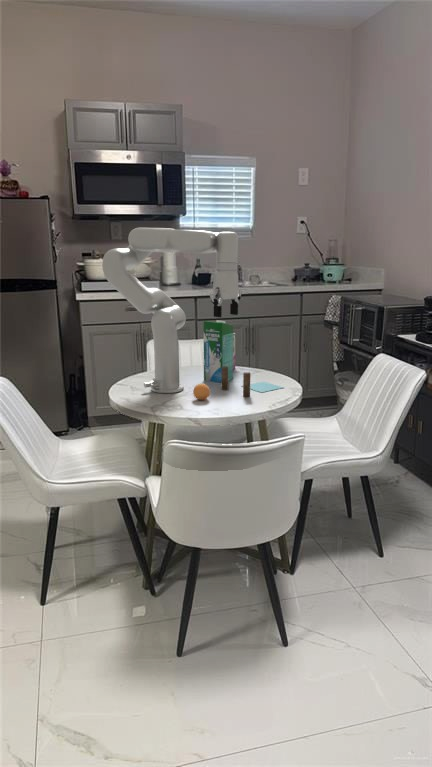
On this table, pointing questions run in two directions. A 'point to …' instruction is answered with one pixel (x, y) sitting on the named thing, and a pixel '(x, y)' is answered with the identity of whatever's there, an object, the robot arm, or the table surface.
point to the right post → (246, 384)
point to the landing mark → (264, 387)
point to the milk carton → (217, 350)
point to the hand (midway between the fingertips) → (225, 315)
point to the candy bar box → (233, 351)
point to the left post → (224, 377)
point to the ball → (201, 391)
